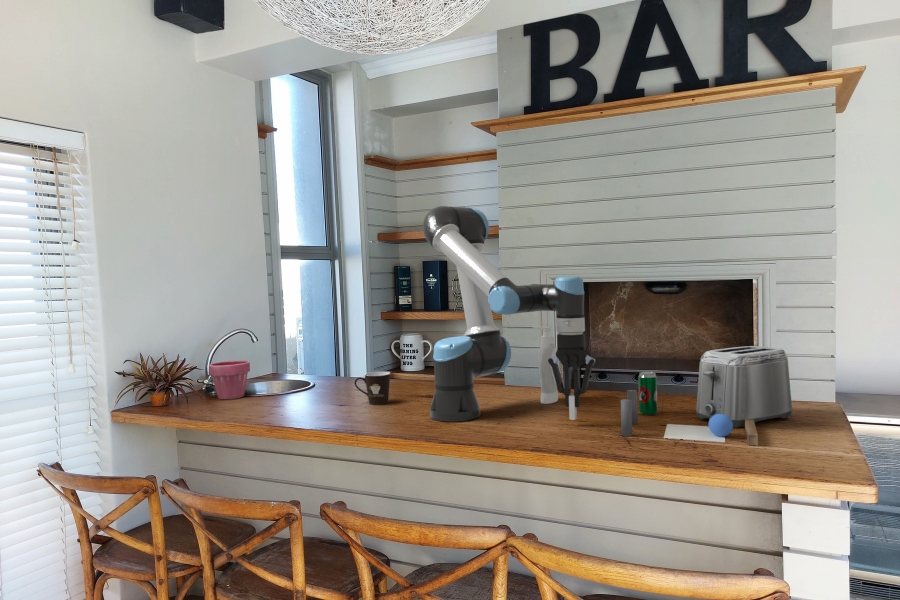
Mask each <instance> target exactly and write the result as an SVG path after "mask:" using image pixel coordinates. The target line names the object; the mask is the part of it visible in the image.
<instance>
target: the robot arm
mask: <svg viewBox="0 0 900 600" xmlns="http://www.w3.org/2000/svg"><path fill="white" fill-rule="evenodd" d="M422 232H423V235H424V239H426V241H427V242H428V244H429V245H430V246H431V247H432V248H433V249H434V250H435V251H437V252H440V253H441V252H442V253H443V254H444V255H445V256H446V257H447V258H448V259H449V260H450V261H451V262H452V263H453V264H454V265H455V266H456V271H457V276H458V282H459V289H460V294H461V300H462V306H463V312H464V317H465V325H466V331H465V332H464V334H463V335H462V336H459V335H458V336H453V337H445V338H443V339H440V340H438V341H436V342H435V343H434V346H433V355H432V356H433V367H434V368H433V370H434V371H433V372H434V394H433V397H432V400H431V404H430V407H429V408H430V409H429V415H430V417H429V418H431V419H432V420H434V421H438V422H439V421H440V422H452V423H453V422H465V421H472V420H475V419H478V418H480V417H481V406H480V404H479V400H478V398H477V395H476V392H475V388H474V387H475V386H474V378H479V377H485V376H492V375H495V374H497V373H501V372H503V371H504V370H506V369H507V367H508V365H509V363H511V358H512V348H511V345H510V342H509V341H508V340H507V338H505V337H504V336H503V335H502V334H501V330H500V328H498V327H497V326H496V325H495V323H494V317H493V313H494V314H496V315H499V316H500V315H505V316H509V315H515V314H516V315H517V314H522V313H533V312H549V311H550V312H555V314H556V332H557V333H558V334H556V343H557V346H556V349H557V352H556V355H555V356H553V357H551V358H549V359H548V362H549V364H550V365H551V367H552V370H553V374H554V377H555V381H556V385H557V393H558V394H559V393H560V394H563V395H564V402H565V403H564V404H565V407H566V408H568V413H569V414H568V415H569V420H572V421H573V420H574V421H575V420H576V419H577V418H578V409H577V408H580V406H581V395H584V394H586V392H587V390H588V387H589V382H590V377H591V373H592V368H593V366H594V365H595V364H596V362H597V360H596V358H594V357H591V356H589V355H588V352H587V350H586V335H585V333H584V332H585V331H586V325H585V322H586V321H585V320H586V319H585V290H584V280H583V278H582V277H581V276H557V278H555V283H552V284H547V283H546V284H545V283H543V284H539V283H534V284H533V283H532V284H526V285H525V284H524V285H516V284H515V283H514V282H513V281H512V280H511V279H510V278H508V277H507V276H506V275H505V274H504V273H503V272H502V271H500V270H499V268H497V267H496V266H495V265H494V264H493V263H492V262H491V261H490V260H489V259H488V258H487V257H486V256H485V255H484V254H482V251H483V249H484V248H485V246H486V244H485V242H486V240H487V238H488V237H489V236H488V234H489V233H490V222H489V220H488V218H487V216H486V215H485V214H484V213H483V211H481V210H480V209H477V208H474V207H470V206H463V207H462V206H448V205H439V206H436V207H433V208H432V209H430V210H429V211H428V212H427V213H426V215H425V216H424V219H423V221H422ZM584 361H585V364H586V366H585V369H584V375H583V379H582V384H581V375H580V374H581V372H580V369H581V365H582V364H583V362H584ZM559 362H560V364H561V365H562V367H563V373H564V375H563V376H564V377H563V378H564V379H563V378H562V375H561V371H560V368H559ZM557 363H558V364H557ZM571 368H572V369H571ZM571 370H573V393H572V386H571V384H572V383H571V380H572V379H571V377H572V376H571ZM563 380H564V381H563Z"/></svg>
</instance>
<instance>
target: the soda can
mask: <svg viewBox="0 0 900 600" xmlns="http://www.w3.org/2000/svg"><path fill="white" fill-rule="evenodd" d="M637 378H638V408H639V409H638V412H639V413H640V414H641V415H644V416H655V415H656V414H658V385H657V383H658V380H657V378H658V376H657V375H656V372H655V371H640V372H639V375H638V377H637Z"/></svg>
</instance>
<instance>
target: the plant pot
mask: <svg viewBox="0 0 900 600" xmlns="http://www.w3.org/2000/svg"><path fill="white" fill-rule="evenodd" d="M250 371H251V365H250V361H249V360H227V361H218V362H212V363H210V364H209V365H208V372H209V376H211V378H212V381H213V384H214V389H215V392H216V395H217V398H218V399H219V400H234V399H240V398H242V397H245V391H246V387H247V380H248V373H249V372H250Z"/></svg>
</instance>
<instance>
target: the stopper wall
mask: <svg viewBox="0 0 900 600" xmlns="http://www.w3.org/2000/svg"><path fill="white" fill-rule="evenodd" d="M755 423H756V422H754V419H745V426H744V430H746V431H745V435H747V436H746V440H747V445H748V446H750V445H756V446H755V447H758V446H759V435H758V431H757V427H756V424H755Z"/></svg>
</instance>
